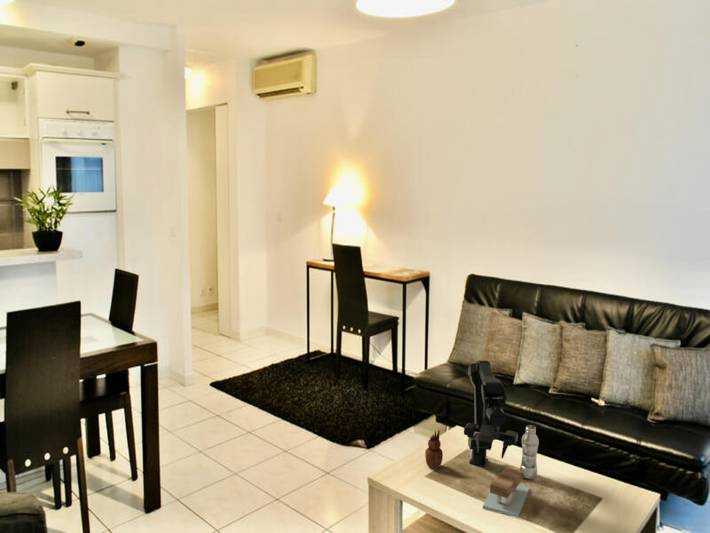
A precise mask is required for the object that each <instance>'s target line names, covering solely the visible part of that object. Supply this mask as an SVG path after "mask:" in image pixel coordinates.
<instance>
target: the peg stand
mask: <svg viewBox="0 0 710 533" xmlns="http://www.w3.org/2000/svg"><path fill="white" fill-rule="evenodd" d="M529 491H530V487H528V486H524V485H520V484H519V485H518V486H517V487H516V488H515V489H514V490H513V491H512V493H511V494H510V495H509V496H508V497H507V498H505V497H502V496H499V495H496V494H493V493H490V492H489V493H488V495H487V497H486V499H485V501H484V503H483V504H482V509H483V510H488V511H491V512H496V513H500V514H503V515H507V516H511V517H514V518H519V516H520V514H521V511H522V510H523V507H524V504H525V501H526V500H527V496H528V494H529Z"/></svg>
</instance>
